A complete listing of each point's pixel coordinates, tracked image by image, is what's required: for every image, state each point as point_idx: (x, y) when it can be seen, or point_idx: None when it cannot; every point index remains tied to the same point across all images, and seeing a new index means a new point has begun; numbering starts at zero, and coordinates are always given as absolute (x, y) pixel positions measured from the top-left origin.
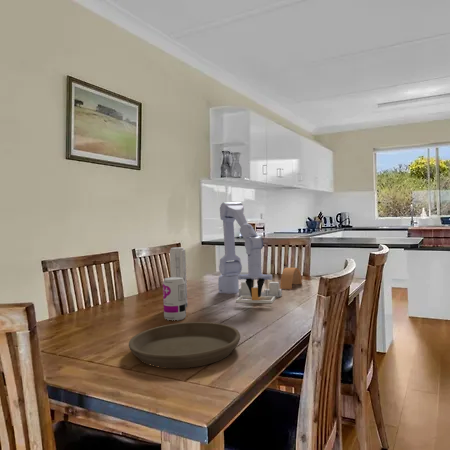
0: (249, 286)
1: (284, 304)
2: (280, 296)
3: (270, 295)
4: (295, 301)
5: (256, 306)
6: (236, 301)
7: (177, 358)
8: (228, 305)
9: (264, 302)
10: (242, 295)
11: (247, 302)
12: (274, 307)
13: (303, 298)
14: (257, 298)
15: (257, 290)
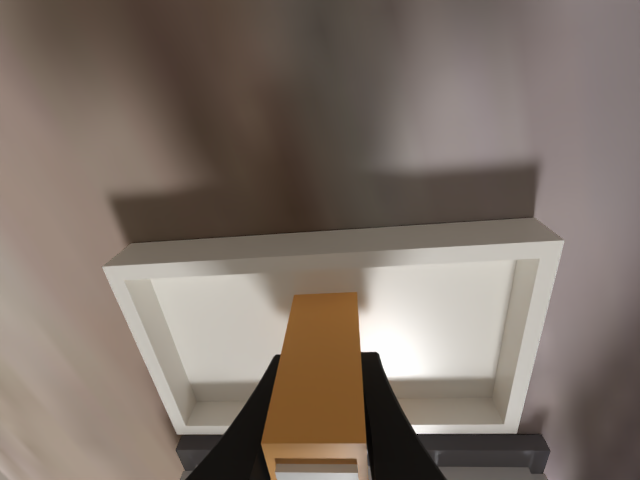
0: (413, 477)
1: (44, 293)
2: (184, 471)
3: None
4: (34, 392)
5: (259, 158)
6: (545, 231)
7: None
8: (636, 133)
9: (192, 252)
10: (509, 470)
11: (394, 236)
12: (49, 155)
13: (44, 464)
14: (290, 320)
15: (269, 408)
